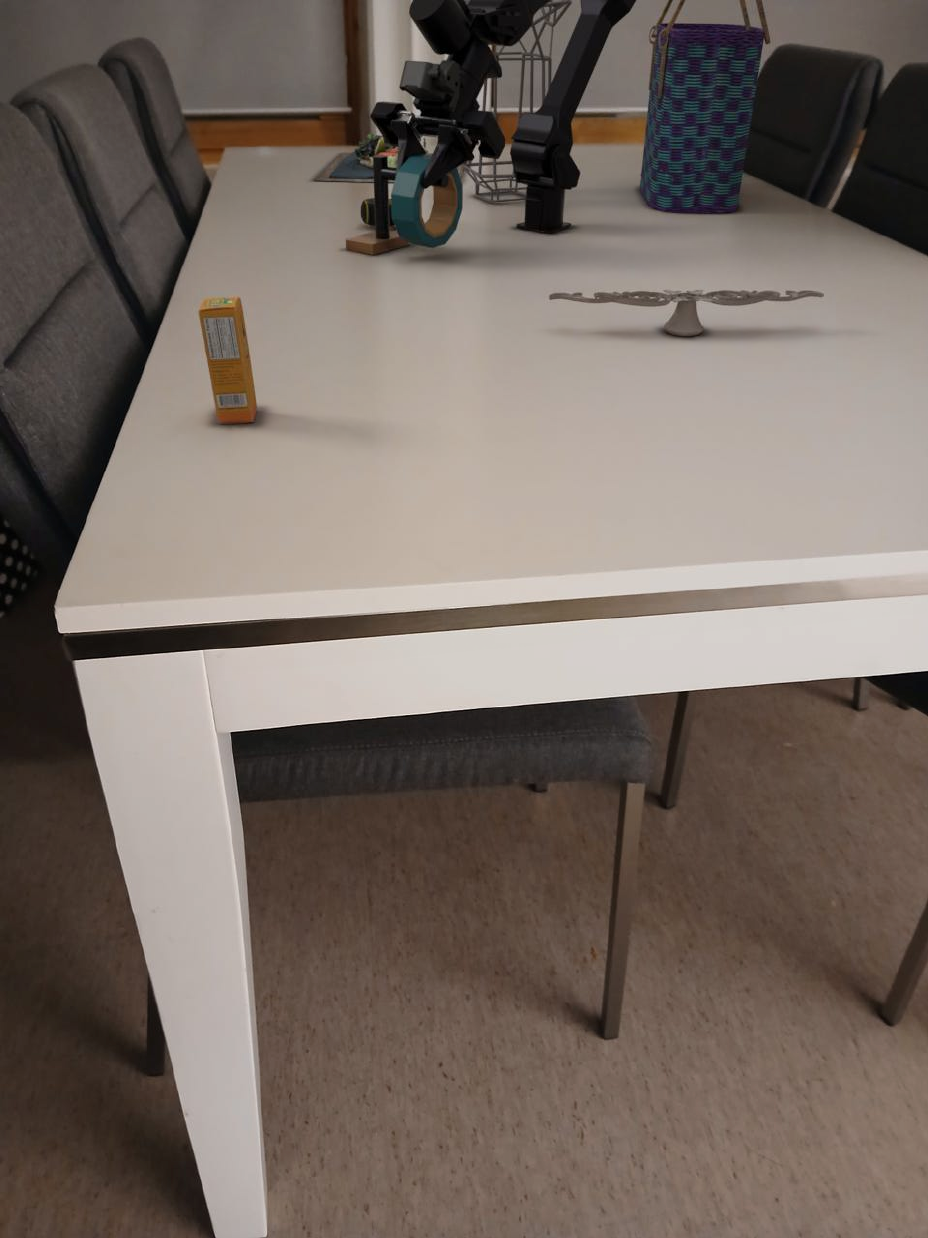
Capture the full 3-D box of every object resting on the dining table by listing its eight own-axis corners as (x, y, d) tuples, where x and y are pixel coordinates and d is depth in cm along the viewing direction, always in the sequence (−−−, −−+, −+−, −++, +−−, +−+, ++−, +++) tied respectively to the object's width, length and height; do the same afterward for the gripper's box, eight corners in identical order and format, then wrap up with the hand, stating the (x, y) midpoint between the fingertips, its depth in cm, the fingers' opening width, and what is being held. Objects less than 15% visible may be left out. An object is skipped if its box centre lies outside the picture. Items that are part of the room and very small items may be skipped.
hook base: (381, 239, 142) (381, 229, 141) (408, 244, 140) (408, 233, 139) (346, 249, 137) (345, 238, 136) (373, 255, 134) (372, 243, 133)
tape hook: (382, 245, 139) (379, 154, 132) (449, 258, 133) (449, 163, 127) (373, 248, 138) (369, 156, 131) (440, 261, 132) (440, 165, 125)
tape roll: (440, 235, 138) (440, 150, 132) (462, 238, 136) (463, 152, 130) (392, 249, 130) (389, 160, 124) (414, 253, 128) (413, 163, 122)
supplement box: (218, 410, 86) (203, 295, 80) (257, 409, 86) (245, 295, 81) (213, 424, 83) (197, 307, 78) (254, 423, 83) (240, 306, 78)
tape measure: (410, 229, 148) (410, 203, 146) (366, 232, 146) (365, 205, 144) (399, 220, 153) (398, 195, 151) (356, 222, 152) (355, 197, 150)
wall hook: (823, 340, 106) (833, 301, 104) (549, 339, 104) (553, 300, 101) (808, 325, 110) (817, 287, 107) (543, 323, 108) (546, 285, 105)
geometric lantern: (528, 188, 178) (539, -41, 159) (563, 205, 166) (579, -42, 146) (447, 192, 174) (448, -43, 154) (477, 209, 161) (481, -44, 142)
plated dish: (462, 184, 181) (462, 140, 177) (313, 183, 182) (310, 140, 178) (468, 157, 210) (468, 119, 206) (340, 157, 211) (337, 119, 207)
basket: (748, 214, 161) (797, -82, 139) (643, 211, 162) (675, -83, 140) (721, 186, 183) (759, -74, 161) (629, 184, 183) (654, -75, 161)
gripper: (376, 30, 125) (324, 134, 123) (495, 36, 116) (441, 148, 115) (414, 94, 135) (367, 191, 133) (527, 104, 126) (478, 208, 124)
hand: (410, 184), depth 126 cm, fingers closed on tape roll, 4 cm apart
